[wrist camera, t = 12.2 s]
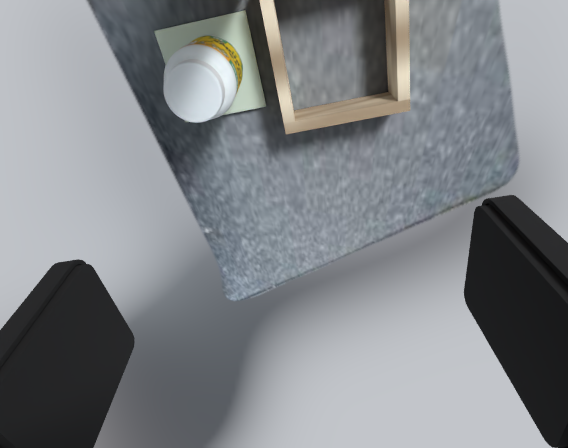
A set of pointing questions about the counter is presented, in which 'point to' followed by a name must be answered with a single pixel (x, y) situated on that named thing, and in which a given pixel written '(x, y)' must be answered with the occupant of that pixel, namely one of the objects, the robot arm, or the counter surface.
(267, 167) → the counter surface
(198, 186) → the counter surface
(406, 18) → the birch box
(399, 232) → the counter surface
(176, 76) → the supplement bottle
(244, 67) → the green mat
